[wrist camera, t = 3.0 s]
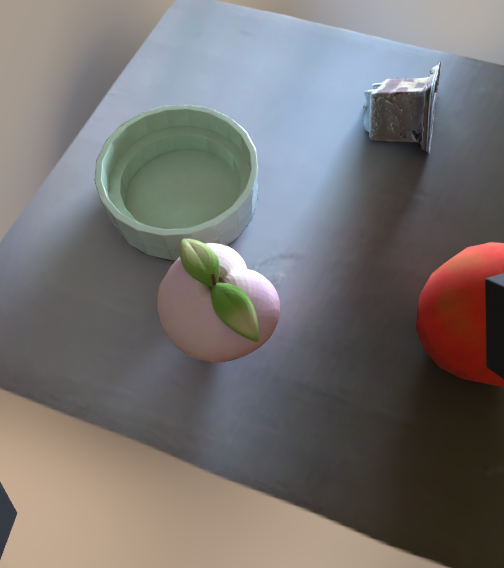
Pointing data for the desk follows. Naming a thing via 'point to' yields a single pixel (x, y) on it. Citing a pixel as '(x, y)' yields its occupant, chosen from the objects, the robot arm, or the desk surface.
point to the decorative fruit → (216, 303)
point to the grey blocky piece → (402, 109)
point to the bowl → (178, 179)
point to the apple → (460, 313)
